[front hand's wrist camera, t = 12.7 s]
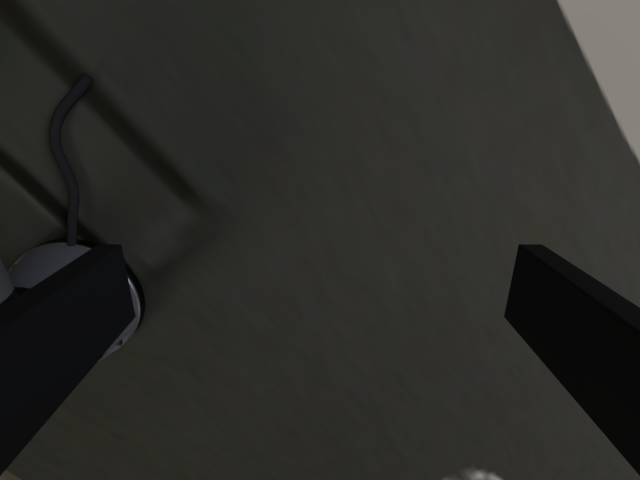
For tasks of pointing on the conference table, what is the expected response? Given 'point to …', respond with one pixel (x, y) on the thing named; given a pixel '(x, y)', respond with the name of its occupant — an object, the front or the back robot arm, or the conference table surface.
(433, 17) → the conference table surface
